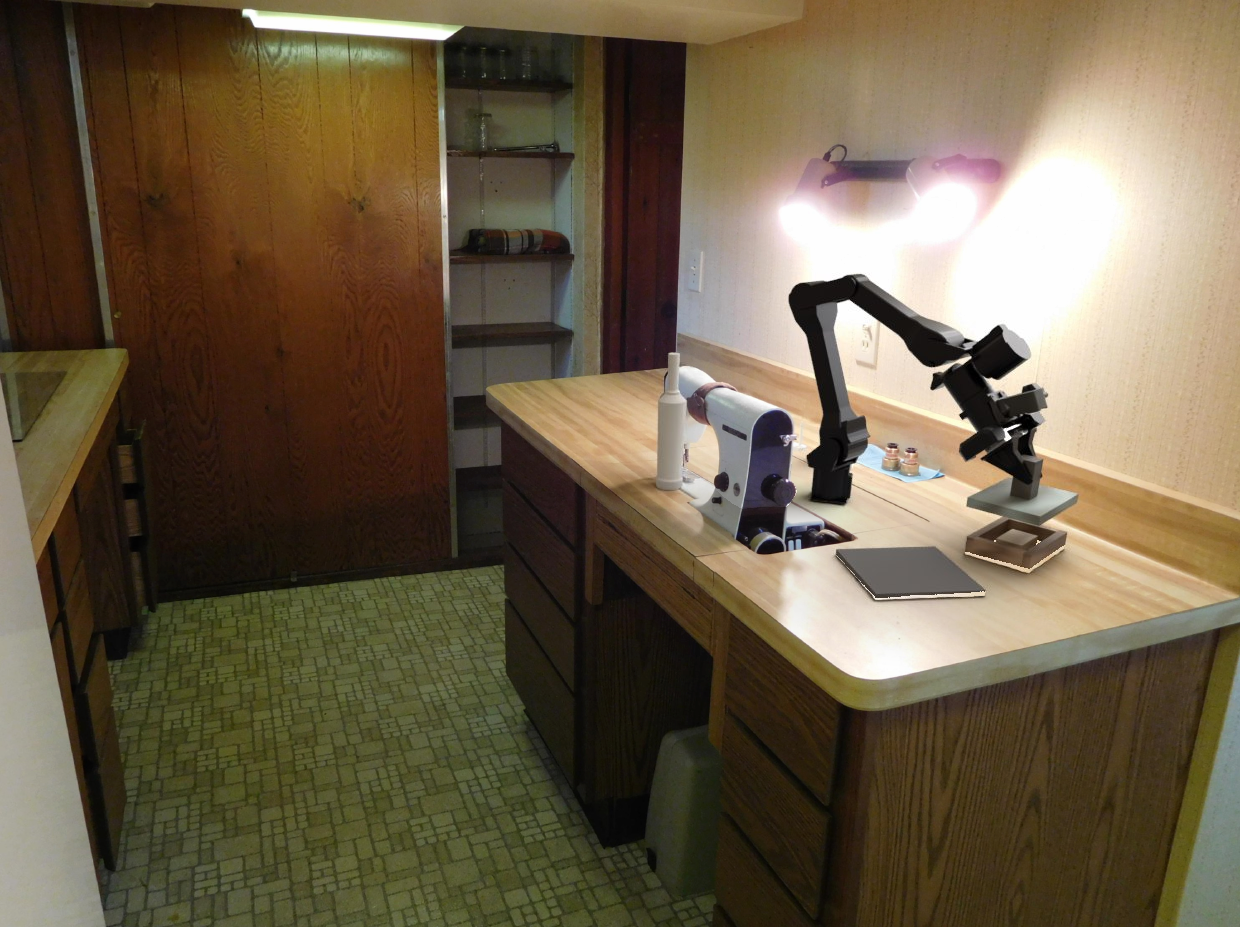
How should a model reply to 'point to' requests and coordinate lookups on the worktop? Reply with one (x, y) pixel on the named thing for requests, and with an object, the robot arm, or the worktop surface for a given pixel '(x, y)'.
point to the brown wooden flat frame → (1015, 542)
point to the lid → (1023, 497)
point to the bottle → (671, 430)
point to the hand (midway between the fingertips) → (1035, 481)
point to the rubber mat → (907, 571)
